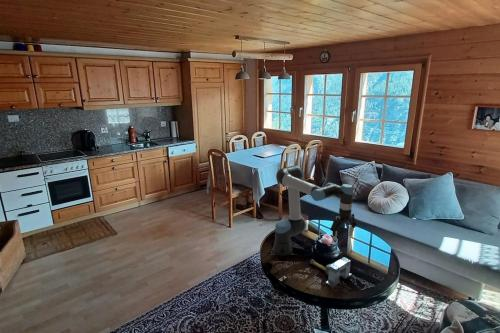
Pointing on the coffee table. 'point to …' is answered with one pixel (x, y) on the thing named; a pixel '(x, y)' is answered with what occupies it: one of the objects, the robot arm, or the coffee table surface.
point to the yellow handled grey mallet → (321, 266)
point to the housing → (338, 271)
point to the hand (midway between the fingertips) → (342, 237)
